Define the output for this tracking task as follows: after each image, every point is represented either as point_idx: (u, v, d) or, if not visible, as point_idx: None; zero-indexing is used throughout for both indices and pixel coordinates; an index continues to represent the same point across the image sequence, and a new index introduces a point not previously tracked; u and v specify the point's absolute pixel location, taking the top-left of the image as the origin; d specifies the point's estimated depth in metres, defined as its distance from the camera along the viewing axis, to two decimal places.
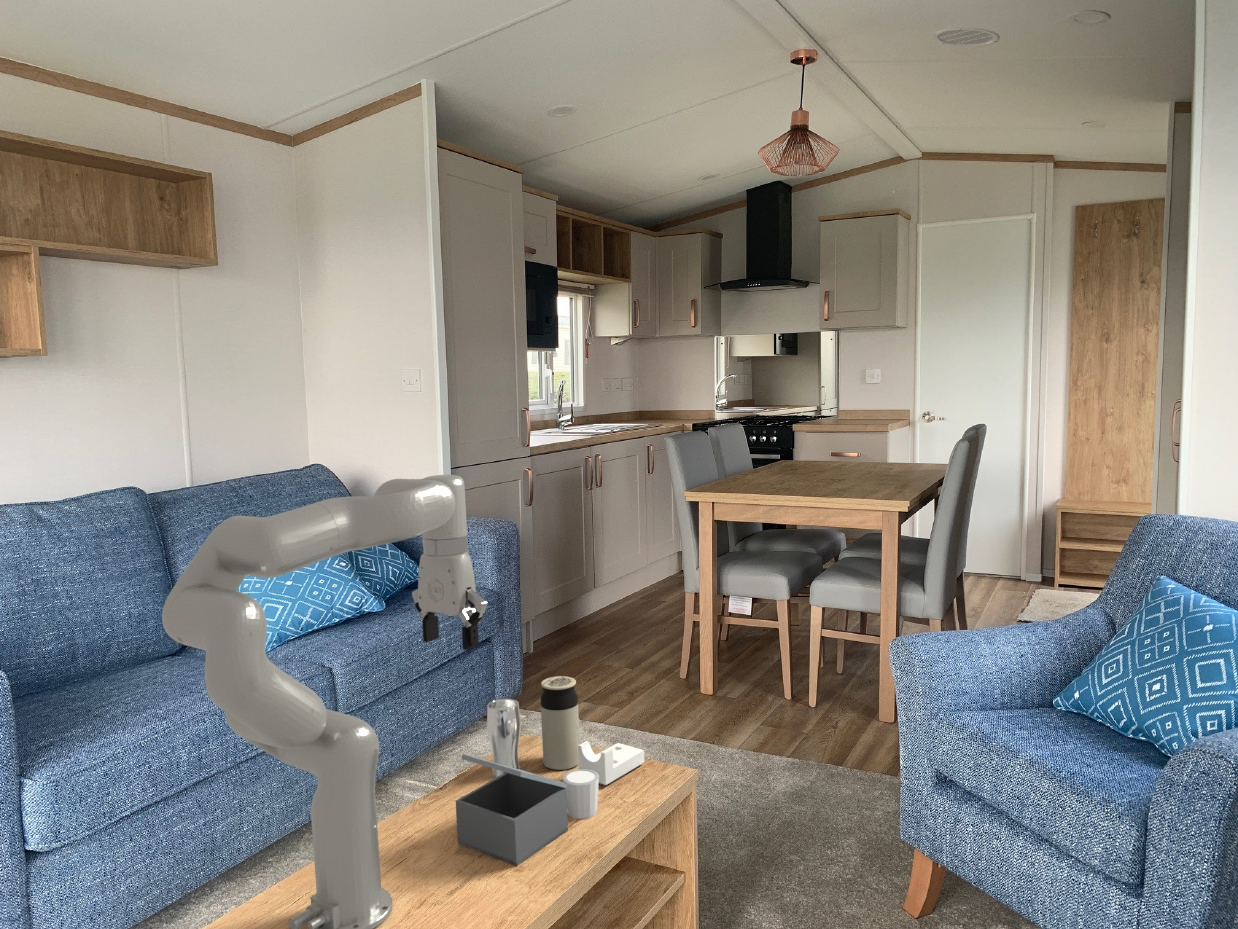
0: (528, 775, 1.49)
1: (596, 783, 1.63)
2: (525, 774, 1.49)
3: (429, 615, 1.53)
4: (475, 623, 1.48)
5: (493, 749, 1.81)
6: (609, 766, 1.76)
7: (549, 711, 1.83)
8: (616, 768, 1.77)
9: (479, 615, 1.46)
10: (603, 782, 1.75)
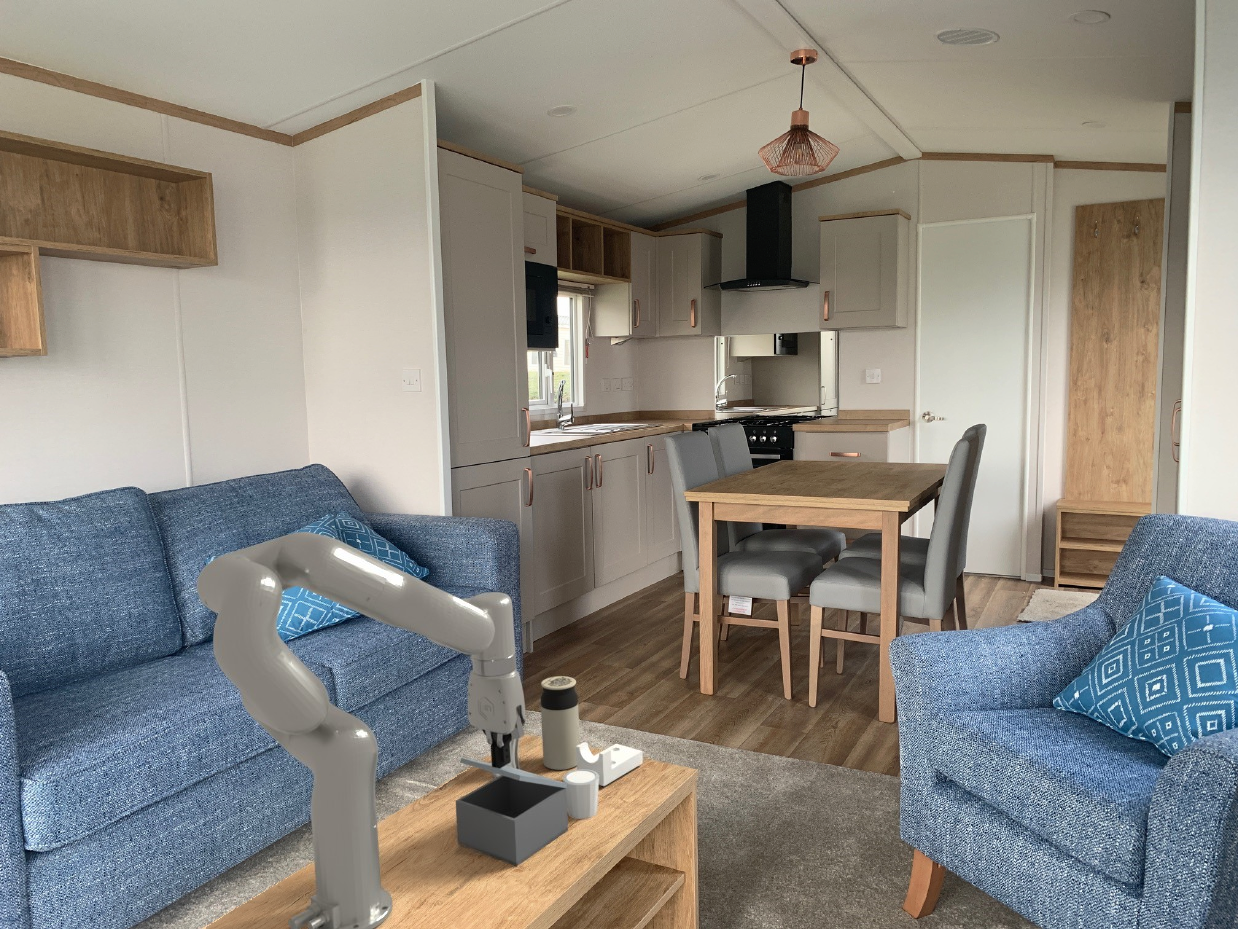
0: (527, 778, 1.49)
1: (596, 783, 1.63)
2: (524, 777, 1.48)
3: (497, 740, 1.53)
4: (507, 742, 1.52)
5: None
6: (607, 767, 1.75)
7: (549, 711, 1.83)
8: (614, 769, 1.77)
9: (510, 738, 1.51)
10: (601, 783, 1.75)
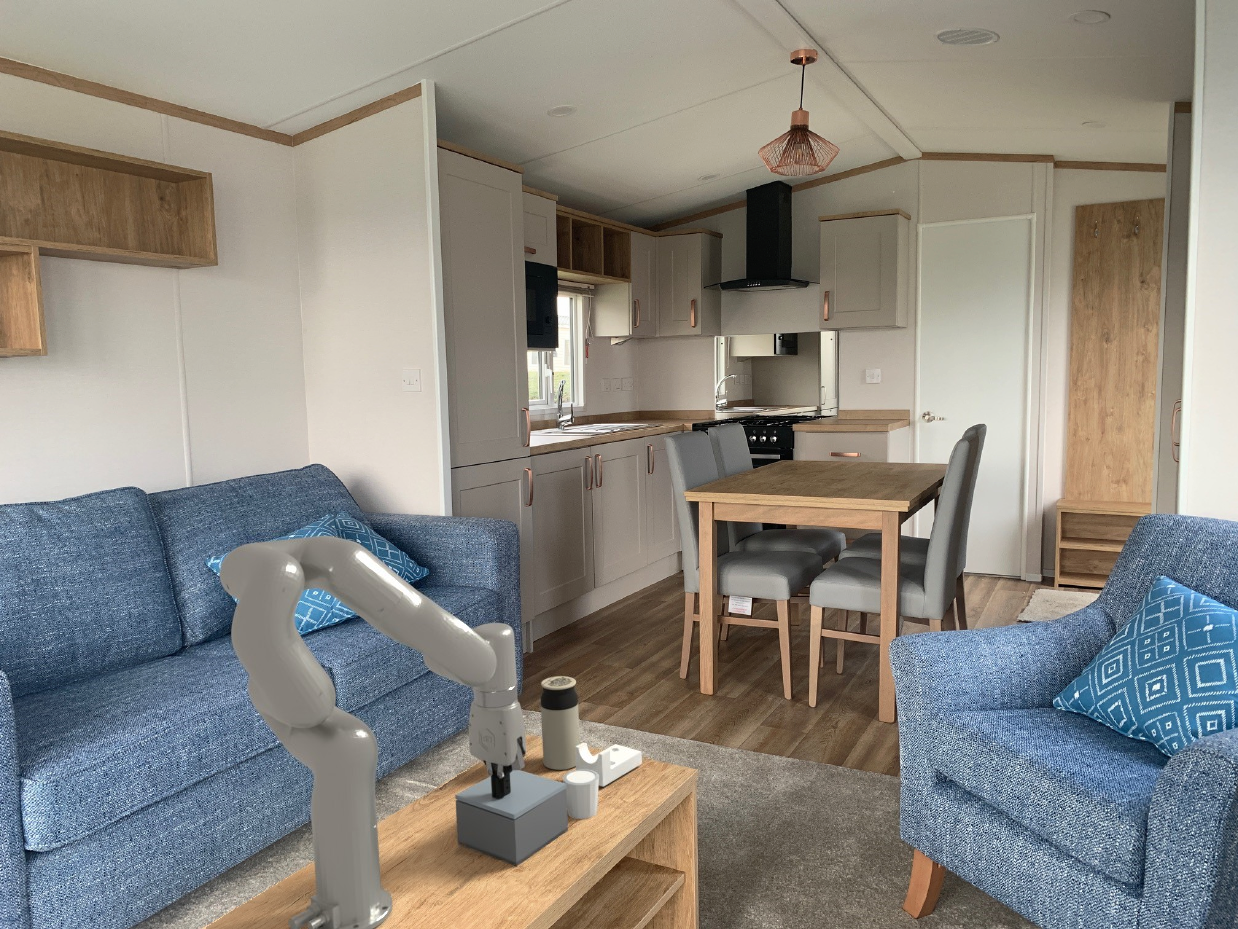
0: (522, 811, 1.48)
1: (596, 783, 1.63)
2: (519, 813, 1.48)
3: (497, 771, 1.53)
4: (508, 773, 1.52)
5: None
6: (606, 768, 1.75)
7: (549, 711, 1.83)
8: (613, 770, 1.77)
9: (511, 769, 1.51)
10: (600, 784, 1.75)
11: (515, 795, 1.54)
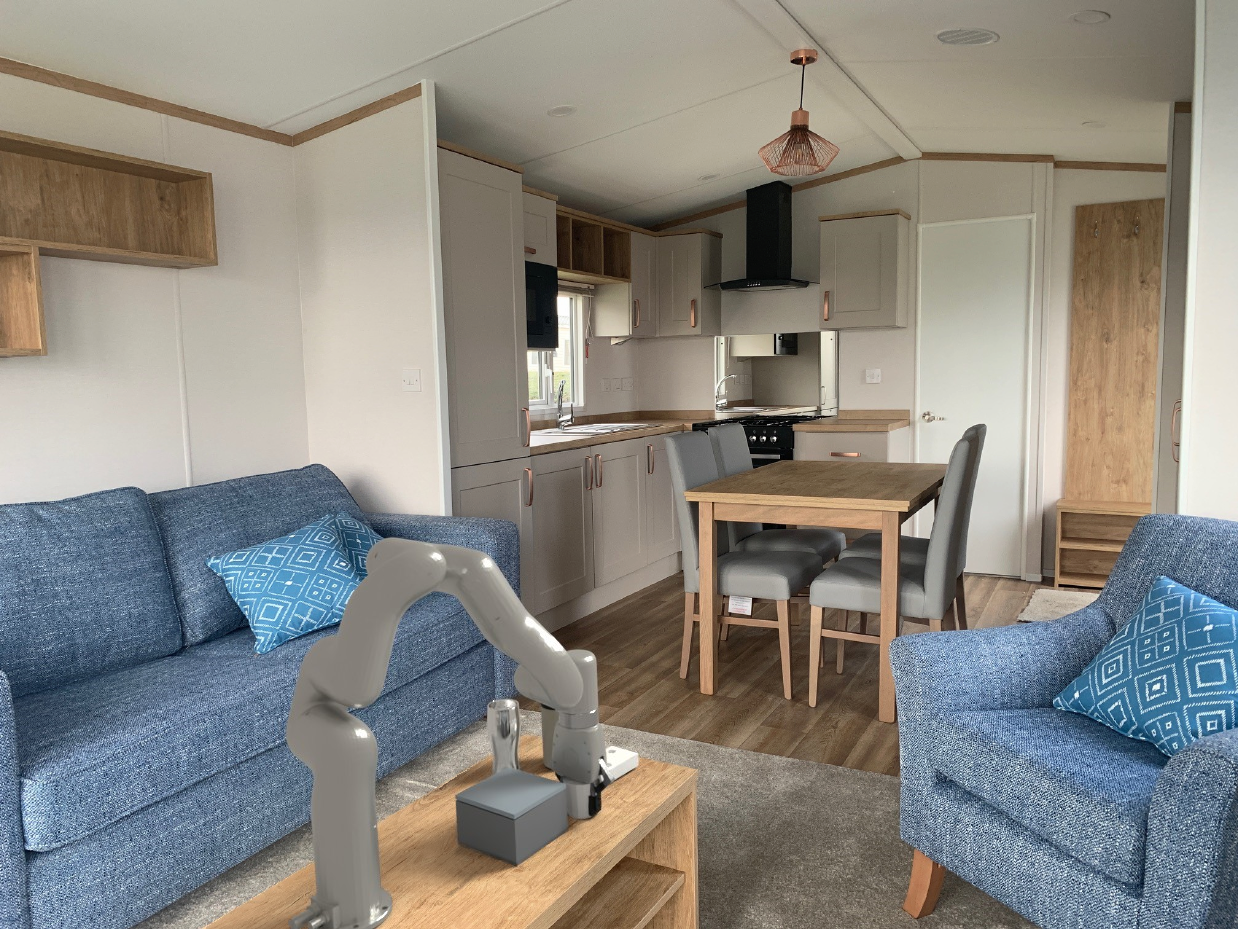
0: (522, 811, 1.48)
1: (596, 783, 1.63)
2: (519, 813, 1.48)
3: None
4: (600, 792, 1.63)
5: (493, 749, 1.81)
6: None
7: (549, 711, 1.83)
8: None
9: (604, 787, 1.61)
10: None
11: (515, 795, 1.54)
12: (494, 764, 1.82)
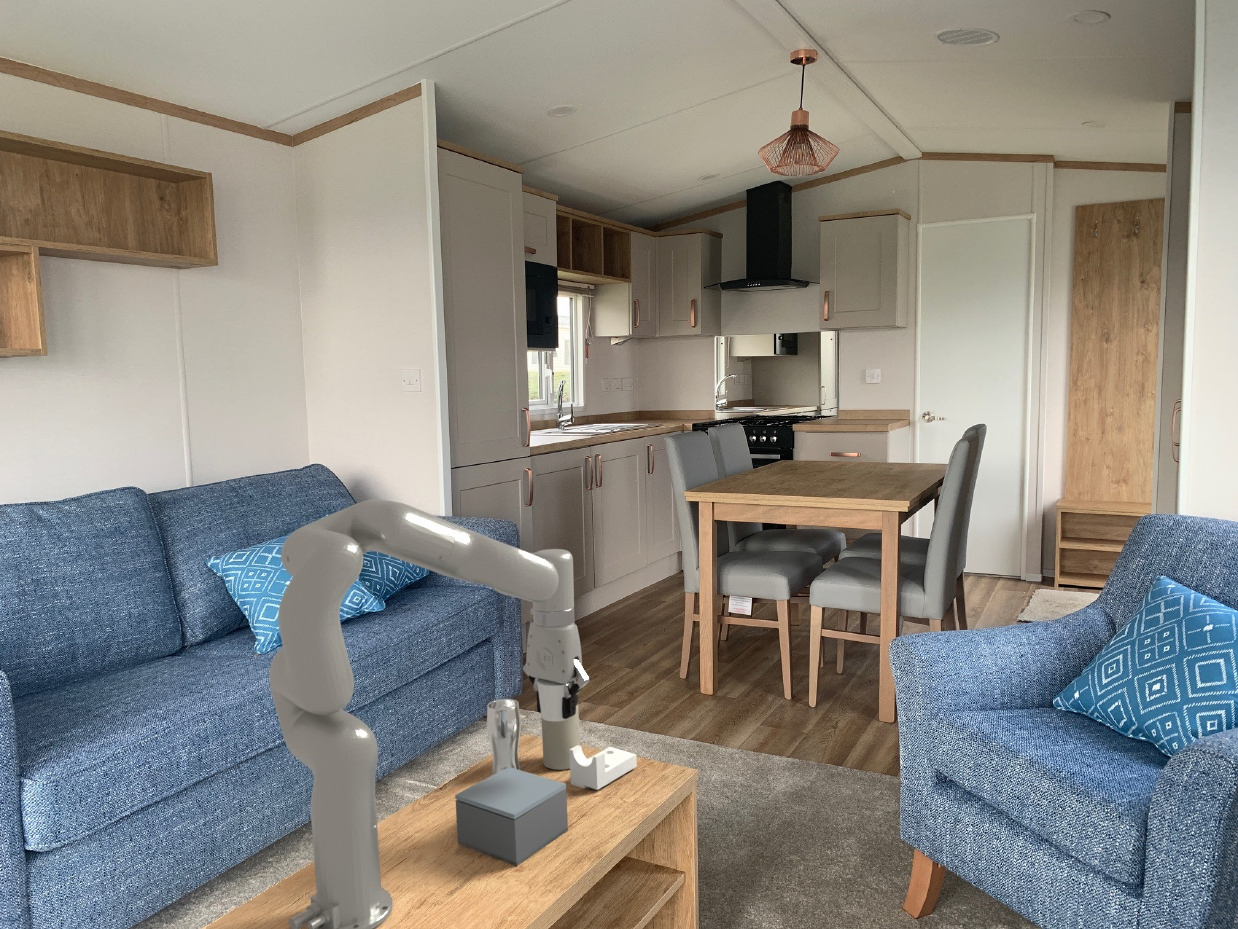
0: (522, 811, 1.48)
1: (571, 685, 1.59)
2: (519, 813, 1.48)
3: None
4: (574, 694, 1.58)
5: (493, 749, 1.81)
6: (601, 771, 1.74)
7: None
8: (608, 773, 1.76)
9: (579, 688, 1.57)
10: (595, 787, 1.73)
11: (515, 795, 1.54)
12: (494, 764, 1.82)
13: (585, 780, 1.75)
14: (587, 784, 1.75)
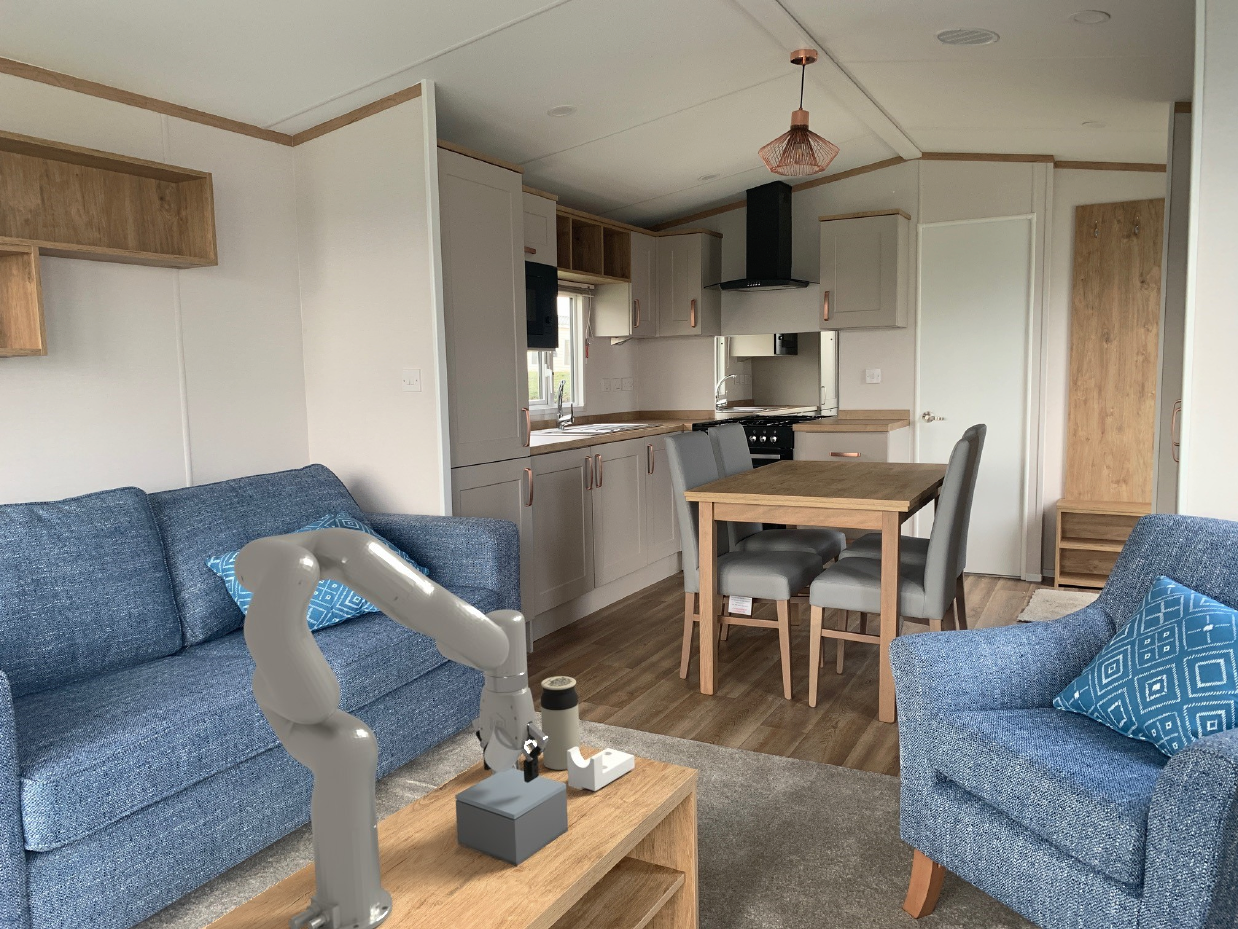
0: (522, 811, 1.48)
1: None
2: (519, 813, 1.48)
3: None
4: (536, 757, 1.52)
5: None
6: (598, 772, 1.73)
7: (549, 711, 1.83)
8: (606, 774, 1.75)
9: (540, 750, 1.51)
10: (592, 788, 1.73)
11: (515, 795, 1.54)
12: None
13: (582, 781, 1.74)
14: (584, 785, 1.74)
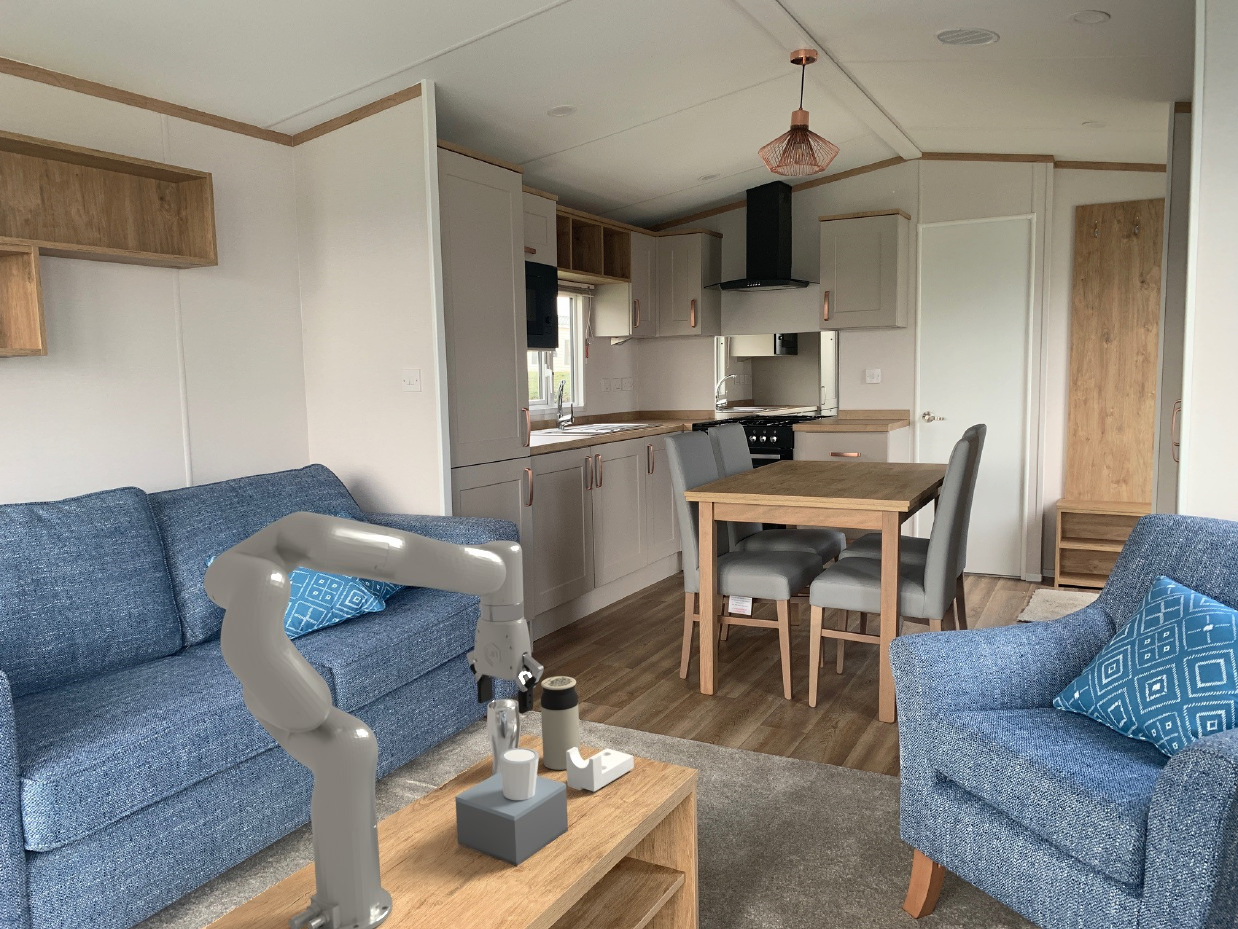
0: (522, 812, 1.48)
1: (536, 762, 1.53)
2: (519, 814, 1.48)
3: (484, 677, 1.57)
4: (531, 687, 1.51)
5: (493, 749, 1.81)
6: (597, 773, 1.73)
7: (549, 711, 1.83)
8: (605, 774, 1.75)
9: (535, 680, 1.49)
10: (591, 789, 1.73)
11: None
12: (494, 764, 1.82)
13: (581, 782, 1.74)
14: (583, 786, 1.74)
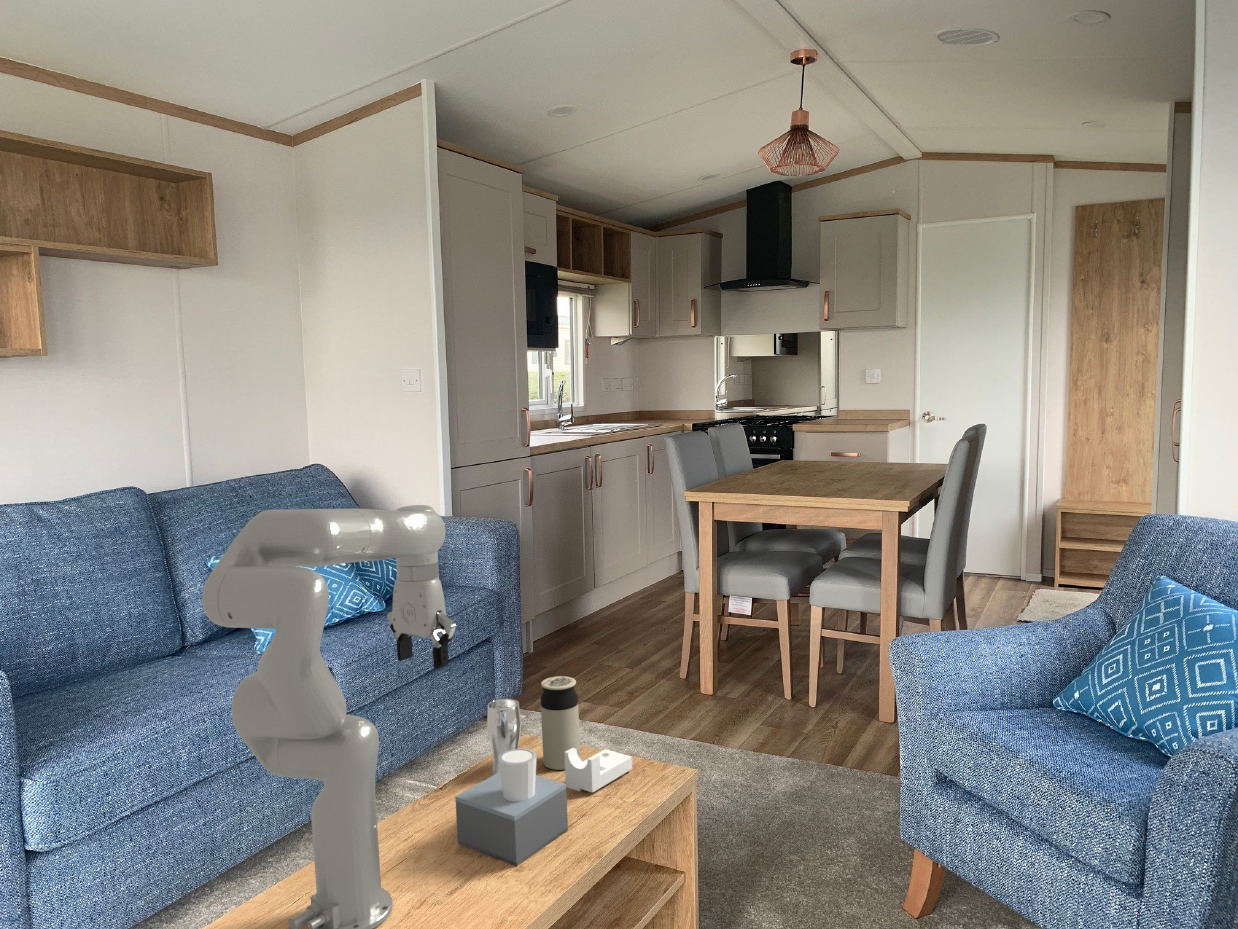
0: (522, 812, 1.48)
1: (534, 762, 1.53)
2: (519, 814, 1.48)
3: (403, 636, 1.64)
4: (445, 644, 1.58)
5: (493, 749, 1.81)
6: (596, 773, 1.73)
7: (549, 711, 1.83)
8: (603, 775, 1.74)
9: (448, 637, 1.57)
10: (590, 789, 1.72)
11: None
12: (494, 764, 1.82)
13: (580, 782, 1.74)
14: (582, 787, 1.73)
